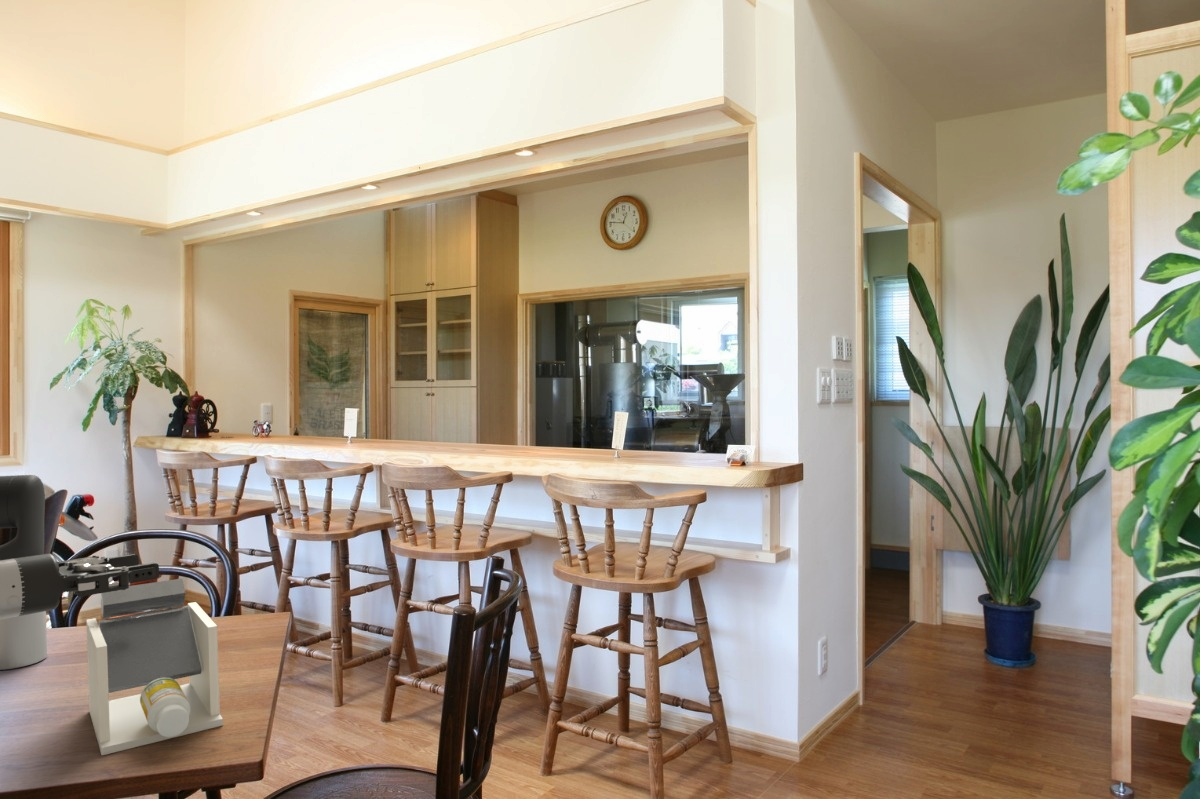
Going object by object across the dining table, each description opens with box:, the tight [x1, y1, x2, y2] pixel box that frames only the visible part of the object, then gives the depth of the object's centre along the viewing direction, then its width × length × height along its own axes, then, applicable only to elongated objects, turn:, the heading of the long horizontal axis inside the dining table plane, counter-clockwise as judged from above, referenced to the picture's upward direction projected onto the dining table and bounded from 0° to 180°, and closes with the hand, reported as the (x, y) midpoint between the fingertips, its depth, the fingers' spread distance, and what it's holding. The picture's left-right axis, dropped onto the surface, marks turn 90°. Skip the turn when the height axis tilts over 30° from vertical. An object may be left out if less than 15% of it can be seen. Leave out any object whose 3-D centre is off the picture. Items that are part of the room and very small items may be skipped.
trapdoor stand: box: [85, 601, 224, 756], centre depth 120 cm, size 18×15×14 cm
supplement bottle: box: [140, 678, 190, 738], centre depth 114 cm, size 5×5×10 cm
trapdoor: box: [98, 578, 202, 694], centre depth 122 cm, size 16×12×4 cm
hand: (147, 565), depth 118 cm, fingers open, 8 cm apart
